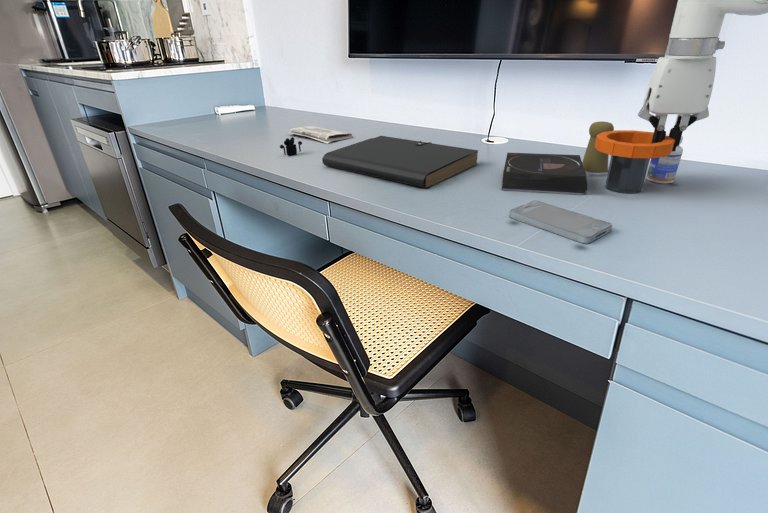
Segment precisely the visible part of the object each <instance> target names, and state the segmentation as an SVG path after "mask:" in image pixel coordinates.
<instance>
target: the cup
mask: <svg viewBox="0 0 768 513" xmlns="http://www.w3.org/2000/svg"><path fill="white" fill-rule="evenodd" d="M650 161H651V158H627V157H620V156H613V155H610V159H609V163H608V170H607V173H606V179H605V186H604V187H605V189H606V190H608V191H611V192H614V193H619V194H638V193H641V192H642V191H643V188H644V184H645V181H646V178H647V173H648V169H649V165H650Z"/></svg>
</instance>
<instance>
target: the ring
mask: <svg viewBox="0 0 768 513" xmlns="http://www.w3.org/2000/svg"><path fill="white" fill-rule="evenodd" d="M653 134H654V131H645V130H631V129H630V130H628V129H627V130H626V129H625V130H623V129H622V130H621V129H618V130H615V129H614V131H607V132H602V133H600V134H598V135H597V136H596V141H595V148H596V149H597V150H598V151H600V152H603V153H606V154H609V155H610V156H611V155H613V156H620V157H627V158H650V159H651V158H659V157H665V156H668V155H669V154H670V153H671V152H672V149H673V146H674V142H675V140H674V139H672V138H671V137H669V136H667V135H665V139H664V140H663V141H662V142H659V143H652V144H651V142H652V138H653Z"/></svg>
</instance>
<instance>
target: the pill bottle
mask: <svg viewBox="0 0 768 513" xmlns="http://www.w3.org/2000/svg"><path fill="white" fill-rule="evenodd" d="M666 135H667V136H669V133H666ZM683 140H684V136H683V135H682V136H681V140H680V143H679V146H677V147H676V150H675V151H672V152H671V153H670V154H669V155H668V156H665V157H659V158H650V160H649V164H648V168H647V172H646V180H647V181H649V182H651V183H655V184H656V183H657V184H671V183H674V181H675V179H676V176H677V172H678V168H679V166H680V162H681V159H682V155H683V153H684V148H683V147H682V146H681V145H682V143H683Z"/></svg>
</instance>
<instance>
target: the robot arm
mask: <svg viewBox="0 0 768 513" xmlns="http://www.w3.org/2000/svg"><path fill="white" fill-rule="evenodd" d="M727 14H732V15H733V14H734V15H738V16H748V17H749V16H750V17H751V16H761V15H766V14H768V0H677V2H676V6H675V12H674V16H673V20H672V23H671V27H670V33H669V36H668V40H667V44H666V49H665V53H664V56H661V57H660V56H659V57H658V59H657V61H656V64H655V65H654V68H653V71H652V73H651V76H650V79H649V82H648V85H647V88H646V92H645V95H644V99H643V103H642V106H641V108H640V110H639V112H637V117H639V118H640V119H643V120H645V121H648V122H649V123H650V124H651V127H653V130H654V131H653V133H654V134H653V138H652V142H651V144H652V143H659V142H662V141H663V140H664V139H665V135H666V134H667V131H666V130H665V129H666V123H667V119H668V115H676V119H675V122H674V125H673V127H671V128H670V129H669V133H668V134H669V137H671V138H672V139H674V140H675V142H674V146H673V149H672V151H675V150H676V147H677V146H680V145H679V143H680V140H681V136H683V132H685V131H686V130H687V129H688V127H690V126H691V125H693V124H694V123H695V122H698V121H701V120H704V119H707V118H709V117H710V112H709V104H710V101H711V97H712V93H713V89H714V83H715V78H716V70H717V69H716V68H717V57H716V56H714V54H716V52H717V51H719V50H723V49H724V48H725V45H726V41H725V40H720V37H719V36H720V34H721V31H722V26H723V23H724V19H725V17H726V15H727Z"/></svg>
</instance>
